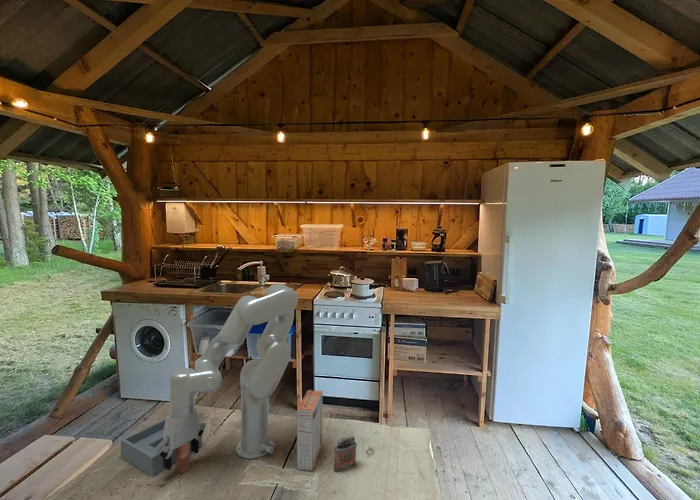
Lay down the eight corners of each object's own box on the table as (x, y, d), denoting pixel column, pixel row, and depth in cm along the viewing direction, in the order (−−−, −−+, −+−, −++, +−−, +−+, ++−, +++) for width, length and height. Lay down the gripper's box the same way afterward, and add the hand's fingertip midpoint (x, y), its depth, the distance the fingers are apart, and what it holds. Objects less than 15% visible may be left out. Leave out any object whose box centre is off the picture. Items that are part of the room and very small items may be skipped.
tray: (201, 446, 123) (201, 429, 123) (152, 476, 107) (152, 457, 107) (170, 431, 132) (170, 415, 131) (120, 457, 116) (120, 439, 116)
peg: (192, 467, 112) (192, 437, 111) (180, 474, 108) (180, 444, 108) (184, 463, 114) (184, 434, 113) (173, 470, 110) (173, 440, 110)
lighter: (336, 474, 110) (336, 444, 110) (331, 467, 113) (332, 438, 113) (357, 466, 114) (358, 437, 114) (353, 460, 117) (353, 432, 117)
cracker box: (306, 444, 126) (307, 388, 125) (322, 446, 125) (323, 390, 124) (295, 470, 112) (296, 408, 111) (313, 472, 111) (314, 409, 110)
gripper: (198, 394, 119) (197, 442, 120) (148, 416, 104) (148, 471, 105) (212, 400, 116) (211, 449, 116) (163, 424, 101) (162, 480, 101)
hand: (181, 459), depth 111 cm, fingers open, 9 cm apart
